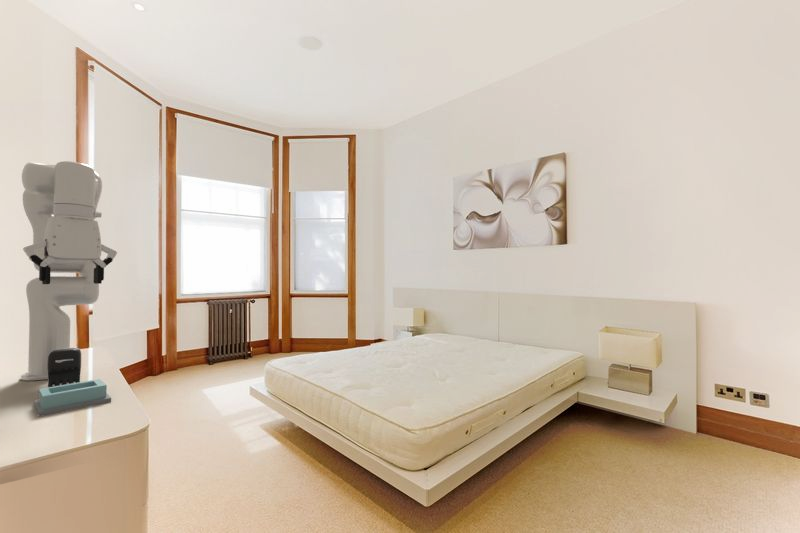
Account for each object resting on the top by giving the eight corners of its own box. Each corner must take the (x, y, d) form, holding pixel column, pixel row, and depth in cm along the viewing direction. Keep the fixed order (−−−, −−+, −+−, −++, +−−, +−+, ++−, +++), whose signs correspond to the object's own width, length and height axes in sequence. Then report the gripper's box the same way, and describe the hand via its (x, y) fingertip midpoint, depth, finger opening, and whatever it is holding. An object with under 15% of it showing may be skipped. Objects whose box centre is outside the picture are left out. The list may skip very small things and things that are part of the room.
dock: (34, 404, 90) (34, 388, 90) (101, 391, 100) (101, 377, 100) (38, 416, 82) (39, 398, 82) (111, 401, 92) (111, 385, 92)
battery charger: (45, 394, 98) (46, 351, 98) (47, 391, 101) (48, 349, 101) (80, 389, 102) (81, 348, 103) (80, 386, 105) (81, 346, 106)
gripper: (111, 219, 99) (109, 283, 98) (20, 210, 84) (18, 284, 84) (122, 217, 95) (121, 283, 94) (29, 206, 80) (27, 284, 80)
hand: (72, 283), depth 89 cm, fingers open, 9 cm apart
